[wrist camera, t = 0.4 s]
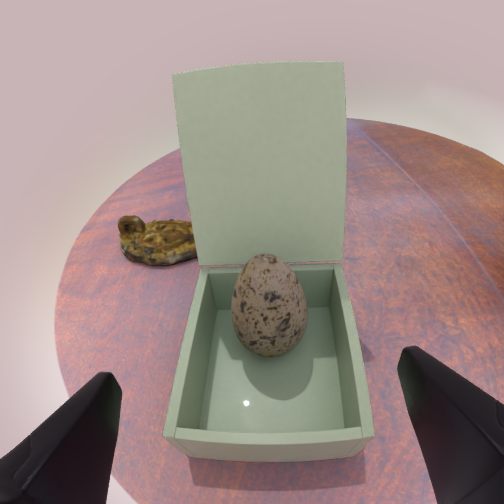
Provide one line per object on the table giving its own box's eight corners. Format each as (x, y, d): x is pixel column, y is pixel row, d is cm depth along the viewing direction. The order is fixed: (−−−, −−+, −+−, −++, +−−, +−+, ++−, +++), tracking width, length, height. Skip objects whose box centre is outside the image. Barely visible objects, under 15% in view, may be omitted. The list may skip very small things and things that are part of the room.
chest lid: (343, 62, 18) (332, 68, 21) (171, 74, 19) (187, 77, 23) (342, 260, 25) (333, 238, 29) (199, 265, 26) (208, 243, 30)
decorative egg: (261, 307, 29) (249, 222, 23) (317, 329, 26) (324, 244, 20) (226, 353, 25) (199, 273, 19) (285, 382, 23) (282, 307, 16)
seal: (223, 233, 43) (136, 229, 46) (220, 203, 41) (130, 203, 44) (201, 271, 35) (105, 261, 39) (195, 236, 33) (95, 231, 36)
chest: (354, 456, 17) (375, 436, 14) (187, 456, 18) (161, 436, 15) (334, 305, 29) (341, 262, 26) (212, 309, 31) (200, 267, 27)
